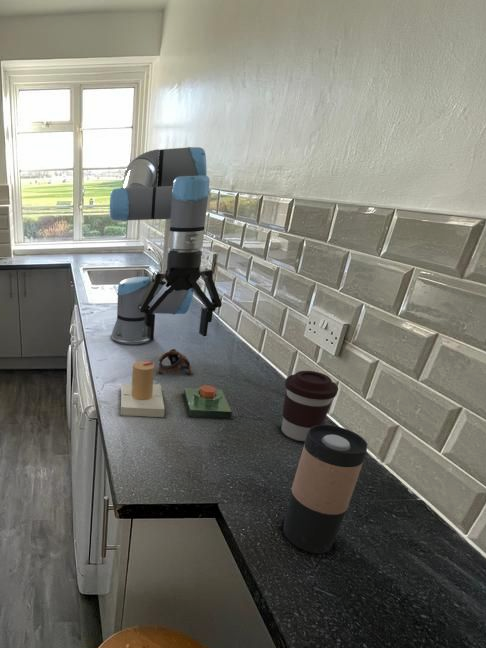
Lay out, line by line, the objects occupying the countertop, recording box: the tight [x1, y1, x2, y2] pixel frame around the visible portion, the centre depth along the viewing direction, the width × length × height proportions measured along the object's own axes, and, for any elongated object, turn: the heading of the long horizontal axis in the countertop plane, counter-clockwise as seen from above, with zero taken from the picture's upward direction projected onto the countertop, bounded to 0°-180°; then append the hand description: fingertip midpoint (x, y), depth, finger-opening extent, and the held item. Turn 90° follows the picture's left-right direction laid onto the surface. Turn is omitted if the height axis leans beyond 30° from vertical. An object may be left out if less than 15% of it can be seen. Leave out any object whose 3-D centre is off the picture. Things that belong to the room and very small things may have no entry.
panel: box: [120, 382, 166, 418], centre depth 110 cm, size 14×11×3 cm
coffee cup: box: [280, 370, 339, 442], centre depth 92 cm, size 10×10×15 cm
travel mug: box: [282, 424, 368, 554], centre depth 64 cm, size 8×8×20 cm
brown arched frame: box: [158, 348, 192, 376], centre depth 127 cm, size 12×10×8 cm
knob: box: [131, 360, 155, 400], centre depth 108 cm, size 6×6×9 cm
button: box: [199, 384, 217, 397], centre depth 106 cm, size 4×4×2 cm
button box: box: [183, 387, 232, 420], centre depth 107 cm, size 12×10×4 cm
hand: (176, 336), depth 101 cm, fingers open, 13 cm apart
